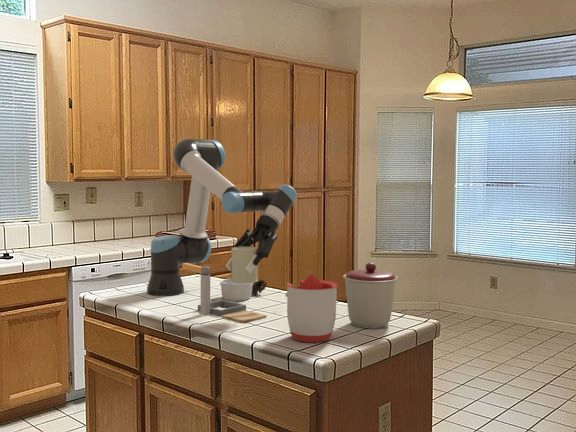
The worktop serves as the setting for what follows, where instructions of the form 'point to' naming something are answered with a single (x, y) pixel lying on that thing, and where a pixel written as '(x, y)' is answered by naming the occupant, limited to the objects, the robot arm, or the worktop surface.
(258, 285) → the pottery mug
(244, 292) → the ramekin
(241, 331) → the worktop surface
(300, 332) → the citrus juicer
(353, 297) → the canister
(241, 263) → the can
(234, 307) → the socket
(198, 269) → the orange bar
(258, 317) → the plate
